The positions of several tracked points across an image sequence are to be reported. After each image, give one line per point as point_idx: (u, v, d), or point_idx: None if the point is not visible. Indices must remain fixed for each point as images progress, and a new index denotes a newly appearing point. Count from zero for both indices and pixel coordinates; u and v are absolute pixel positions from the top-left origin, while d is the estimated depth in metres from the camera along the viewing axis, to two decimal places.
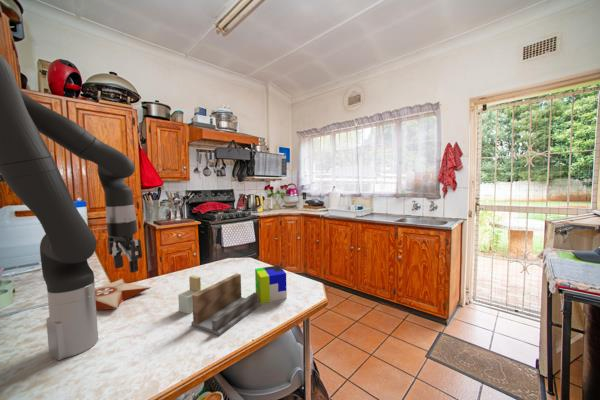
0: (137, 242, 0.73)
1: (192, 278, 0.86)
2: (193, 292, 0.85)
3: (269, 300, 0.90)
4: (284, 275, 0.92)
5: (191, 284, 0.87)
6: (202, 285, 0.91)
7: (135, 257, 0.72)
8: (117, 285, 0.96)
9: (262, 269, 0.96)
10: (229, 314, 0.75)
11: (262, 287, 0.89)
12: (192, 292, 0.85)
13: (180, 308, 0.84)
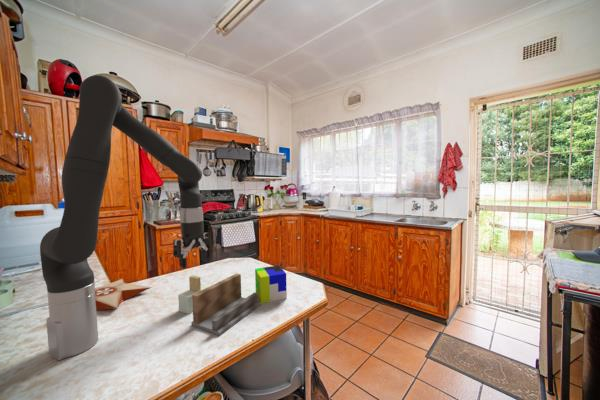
0: None
1: (192, 278, 0.86)
2: (193, 292, 0.85)
3: (269, 300, 0.90)
4: (284, 275, 0.92)
5: (191, 284, 0.87)
6: (202, 285, 0.91)
7: None
8: (117, 285, 0.96)
9: (262, 269, 0.96)
10: (229, 314, 0.75)
11: (262, 287, 0.89)
12: (192, 293, 0.85)
13: (180, 308, 0.84)
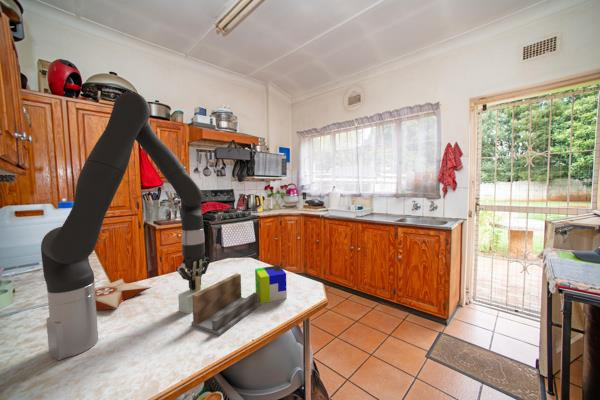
0: None
1: None
2: (193, 292, 0.85)
3: (269, 300, 0.90)
4: (284, 275, 0.92)
5: None
6: (202, 285, 0.91)
7: None
8: (117, 285, 0.96)
9: (262, 269, 0.96)
10: (229, 314, 0.75)
11: (262, 287, 0.89)
12: (192, 292, 0.85)
13: (180, 308, 0.84)
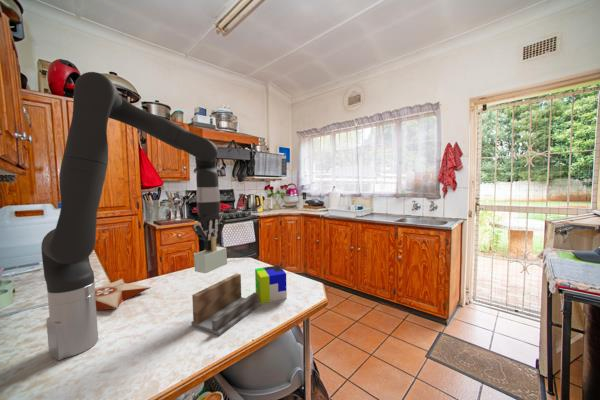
0: None
1: None
2: (209, 252, 0.82)
3: (269, 300, 0.90)
4: (284, 275, 0.92)
5: None
6: (217, 247, 0.88)
7: None
8: (117, 285, 0.96)
9: (262, 269, 0.96)
10: (229, 314, 0.75)
11: (262, 287, 0.89)
12: (208, 252, 0.82)
13: (196, 268, 0.80)
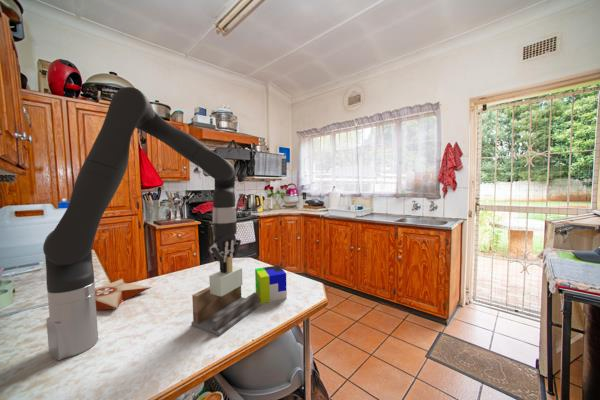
0: None
1: None
2: (225, 273, 0.79)
3: (269, 300, 0.90)
4: (284, 275, 0.92)
5: None
6: (232, 267, 0.85)
7: None
8: (117, 285, 0.96)
9: (262, 269, 0.96)
10: (229, 314, 0.75)
11: (262, 287, 0.89)
12: (224, 274, 0.78)
13: (211, 290, 0.77)
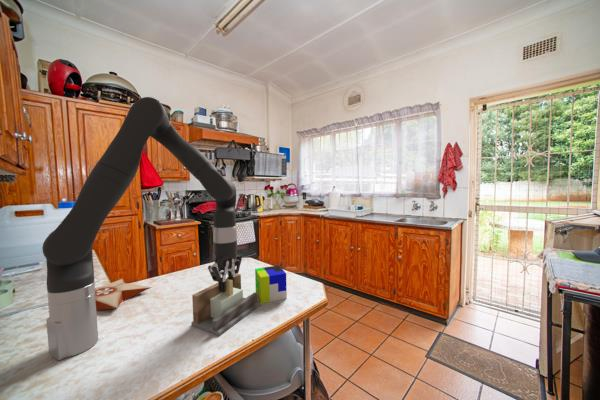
0: None
1: None
2: (225, 296, 0.79)
3: (269, 300, 0.90)
4: (284, 275, 0.92)
5: None
6: (233, 288, 0.85)
7: None
8: (117, 285, 0.96)
9: (262, 269, 0.96)
10: (229, 314, 0.75)
11: (262, 287, 0.89)
12: (224, 297, 0.79)
13: (212, 313, 0.78)
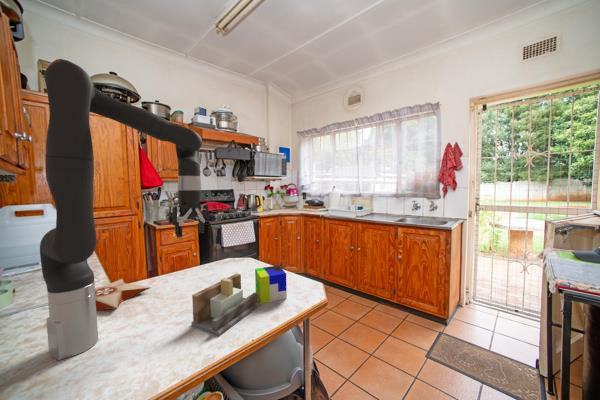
0: None
1: (224, 281, 0.80)
2: (225, 296, 0.79)
3: (269, 300, 0.90)
4: (284, 275, 0.92)
5: (223, 288, 0.81)
6: (233, 288, 0.85)
7: None
8: (117, 285, 0.96)
9: (262, 269, 0.96)
10: (229, 314, 0.75)
11: (262, 287, 0.89)
12: (224, 297, 0.79)
13: (212, 313, 0.78)
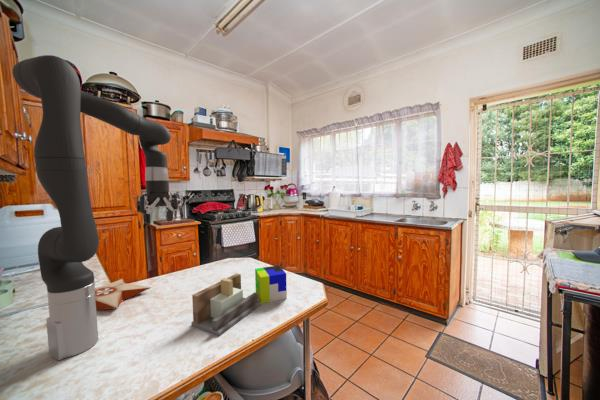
0: None
1: (224, 281, 0.80)
2: (225, 296, 0.79)
3: (269, 300, 0.90)
4: (284, 275, 0.92)
5: (223, 288, 0.81)
6: (233, 288, 0.85)
7: None
8: (117, 285, 0.96)
9: (262, 269, 0.96)
10: (229, 314, 0.75)
11: (262, 287, 0.89)
12: (224, 297, 0.79)
13: (212, 313, 0.78)
